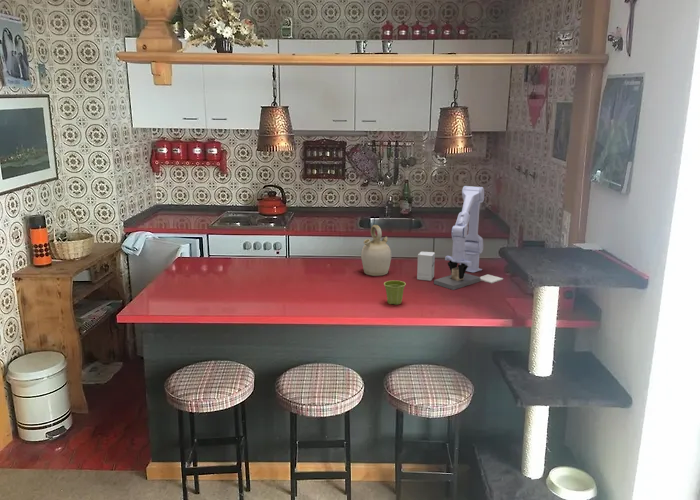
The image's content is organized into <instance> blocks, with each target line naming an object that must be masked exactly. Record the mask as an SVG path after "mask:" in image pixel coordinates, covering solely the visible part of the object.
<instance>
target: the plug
mask: <svg viewBox="0 0 700 500" xmlns="http://www.w3.org/2000/svg"><path fill="white" fill-rule="evenodd" d="M451 275H452V279H453V280H456V281H460V280H463V279H459V268H458V266H457V267H456V268H452V274H451Z"/></svg>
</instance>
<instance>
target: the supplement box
mask: <svg viewBox="0 0 700 500" xmlns="http://www.w3.org/2000/svg"><path fill="white" fill-rule="evenodd" d="M435 258H436V253H435V252H434V251H420V252H418V254H417V268H416V269H417V272H416V273H417V274H416V279H417V280H419V281H429V282H431V281H432V280H433V278H434V277H435V263H436V262H435V261H436V259H435Z"/></svg>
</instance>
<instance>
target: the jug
mask: <svg viewBox="0 0 700 500" xmlns="http://www.w3.org/2000/svg"><path fill="white" fill-rule="evenodd" d="M376 233H377V234H376ZM382 235H383V233H382V229H381V227H380V226H379V225H378V224H373V225H372V226H371V228H370V236H371V238H372V240H371V239H370V238H366V239H364V240H363V246H362V249H361V253H360V258H361V264H362V268H363V273H364V274H366V275H368V276H372V277H379V276H380V277H382V276H385V275H387V274H388V273H389V270H390V265H391V262H392V261H391V260H392V249H391V248H390V246H389V244H387V242H388V236H385V237H384V238H382ZM381 238H382V240H381Z"/></svg>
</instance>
